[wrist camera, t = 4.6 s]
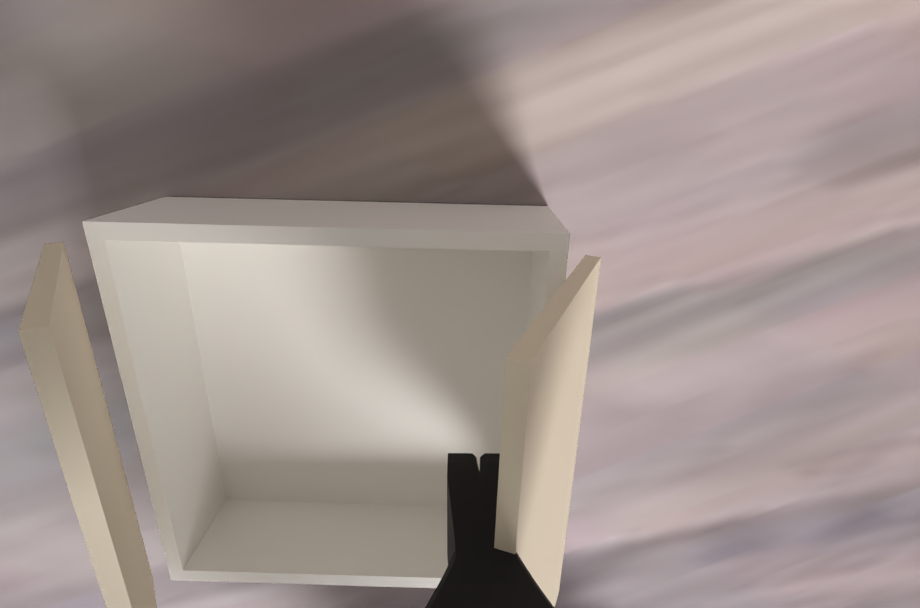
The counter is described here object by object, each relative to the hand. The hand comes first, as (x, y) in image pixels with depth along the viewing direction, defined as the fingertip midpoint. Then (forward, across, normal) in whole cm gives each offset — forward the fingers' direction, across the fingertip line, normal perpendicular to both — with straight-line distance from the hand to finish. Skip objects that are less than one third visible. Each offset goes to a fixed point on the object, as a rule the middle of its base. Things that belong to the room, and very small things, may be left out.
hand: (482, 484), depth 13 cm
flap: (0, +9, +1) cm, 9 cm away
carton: (+7, +4, +1) cm, 8 cm away
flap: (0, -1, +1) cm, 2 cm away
